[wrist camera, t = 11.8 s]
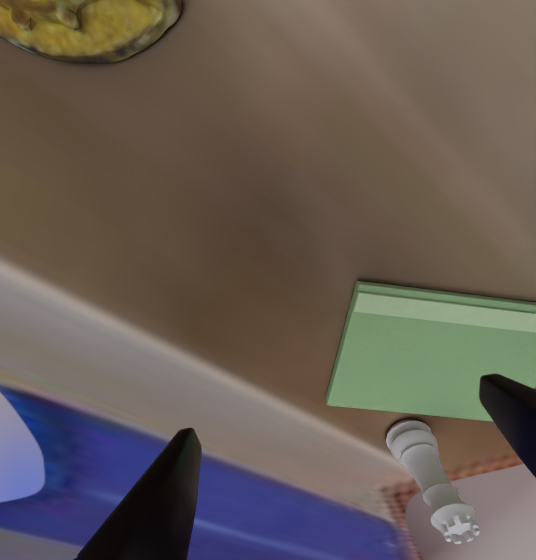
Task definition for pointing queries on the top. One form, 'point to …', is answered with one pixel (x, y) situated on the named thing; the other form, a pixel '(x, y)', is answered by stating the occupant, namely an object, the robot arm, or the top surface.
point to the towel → (429, 350)
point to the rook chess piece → (432, 479)
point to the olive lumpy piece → (86, 27)
